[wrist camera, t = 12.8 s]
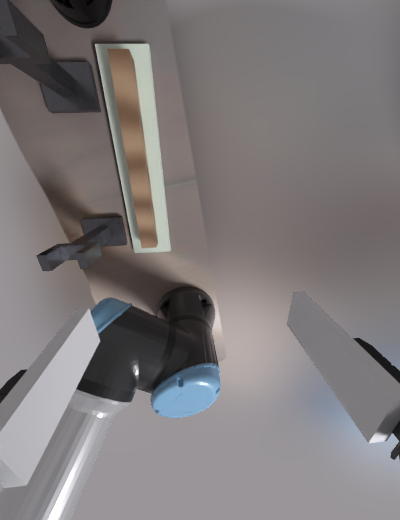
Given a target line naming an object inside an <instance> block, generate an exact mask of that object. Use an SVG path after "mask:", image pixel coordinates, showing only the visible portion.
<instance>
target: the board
mask: <svg viewBox="0 0 400 520" xmlns="http://www.w3.org/2000/svg"><path fill="white" fill-rule="evenodd" d="M95 48H96V53H97V58H98V64H99V69H100V74H101V79H102V85H103V90H104V95H105V100H106V106H107V111H108V116H109V121H110V127H111V132H112V137H113V142H114V148H115V153H116V158H117V163H118V169H119V174H120V179H121V184H122V190H123V195H124V200H125V205H126V211H127V216H128V221H129V226H130V232H131V237H132V242H133V247H134V253H147V252H164V251H171V246H170V236H169V227H168V217H167V208H166V198H165V189H164V179H163V169H162V160H161V150H160V141H159V131H158V122H157V112H156V103H155V93H154V83H153V74H152V64H151V55H150V47H149V44H95ZM107 49H129V50H130V52H131V55H132V57H133V59H134V64H135V71H136V79H137V87H138V94H139V102H140V109H141V117H142V124H143V132H144V139H145V147H146V154H147V162H148V169H149V177H150V184H151V192H152V199H153V207H154V214H155V222H156V229H157V237H158V245H157V247H156V248H142V247H141V241H140V235H139V230H138V224H137V218H136V212H135V207H134V201H133V195H132V189H131V183H130V178H129V172H128V166H127V160H126V155H125V149H124V143H123V137H122V131H121V126H120V120H119V114H118V108H117V103H116V97H115V91H114V85H113V79H112V74H111V68H110V62H109V56H108V50H107Z"/></svg>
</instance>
